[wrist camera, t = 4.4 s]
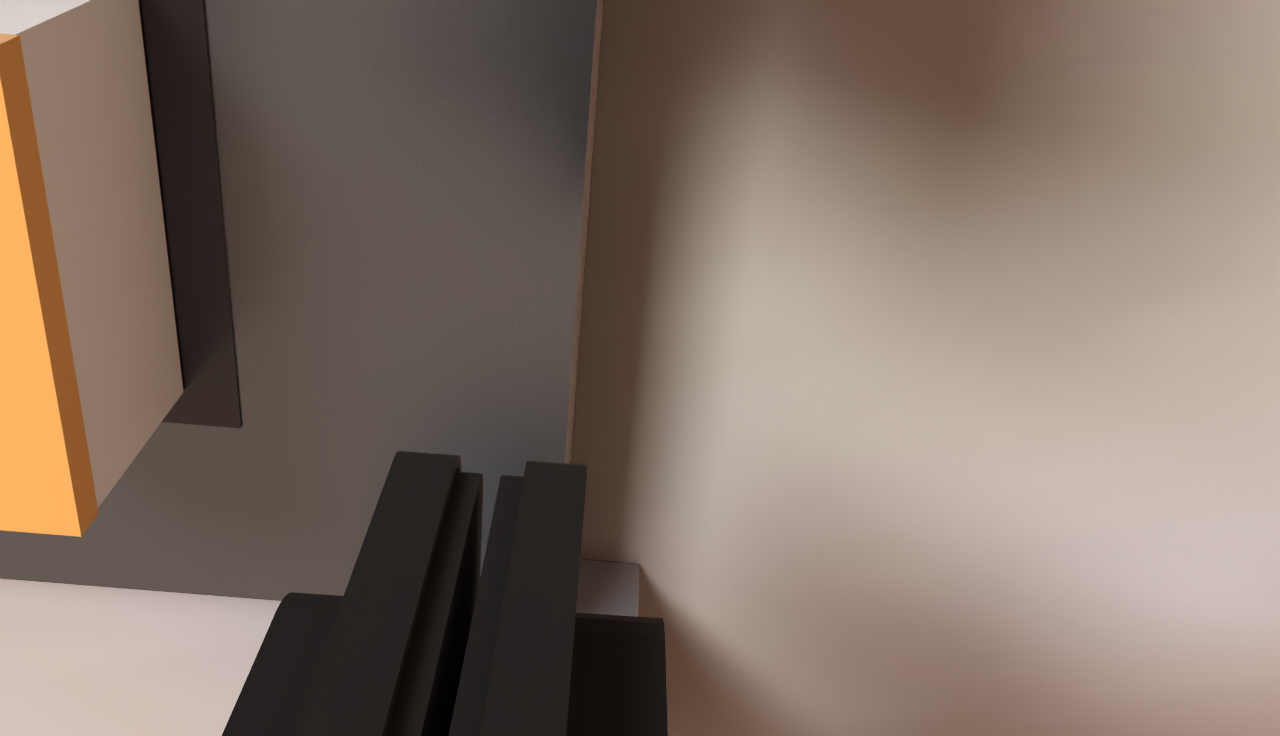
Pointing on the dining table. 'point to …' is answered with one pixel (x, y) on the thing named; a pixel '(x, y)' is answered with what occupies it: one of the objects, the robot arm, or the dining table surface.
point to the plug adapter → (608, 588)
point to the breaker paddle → (78, 262)
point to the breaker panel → (347, 277)
